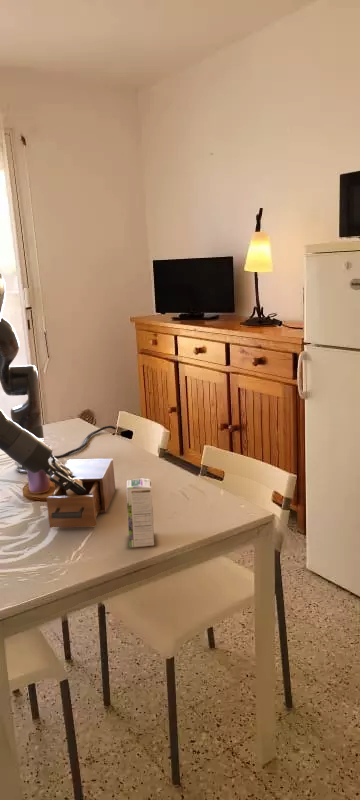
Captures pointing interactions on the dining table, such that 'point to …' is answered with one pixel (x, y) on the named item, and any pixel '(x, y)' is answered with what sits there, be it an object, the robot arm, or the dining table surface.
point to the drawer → (74, 507)
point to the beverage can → (38, 481)
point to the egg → (70, 492)
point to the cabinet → (95, 476)
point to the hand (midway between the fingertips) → (82, 489)
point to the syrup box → (140, 512)
